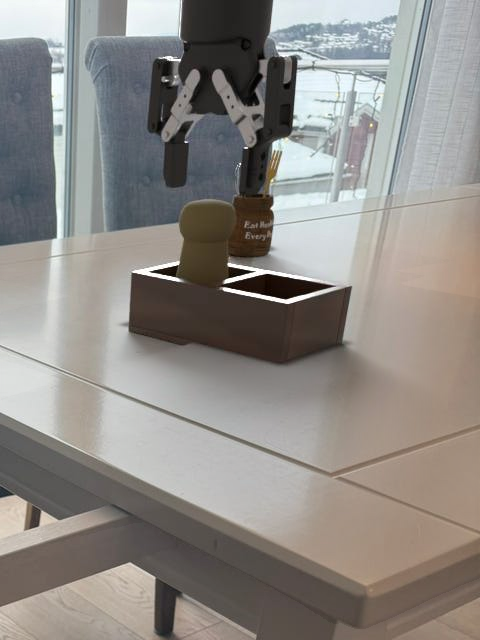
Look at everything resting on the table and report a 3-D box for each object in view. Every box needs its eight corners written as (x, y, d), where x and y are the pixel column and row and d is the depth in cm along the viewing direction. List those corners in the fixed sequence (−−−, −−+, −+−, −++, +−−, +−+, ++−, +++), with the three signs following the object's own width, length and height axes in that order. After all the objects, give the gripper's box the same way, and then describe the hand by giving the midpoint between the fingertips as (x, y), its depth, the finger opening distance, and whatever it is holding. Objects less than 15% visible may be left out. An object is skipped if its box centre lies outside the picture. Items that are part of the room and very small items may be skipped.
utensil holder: (214, 252, 125) (224, 151, 119) (251, 247, 127) (262, 148, 121) (244, 259, 121) (256, 155, 114) (281, 254, 123) (295, 152, 117)
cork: (154, 323, 92) (162, 201, 86) (192, 312, 95) (202, 193, 89) (203, 334, 88) (215, 207, 82) (241, 322, 91) (256, 199, 85)
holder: (190, 314, 98) (195, 257, 95) (341, 349, 86) (352, 285, 83) (128, 330, 93) (131, 271, 90) (278, 370, 81) (288, 303, 78)
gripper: (331, -33, 74) (301, 192, 82) (192, -21, 83) (178, 180, 92) (273, -34, 70) (248, 202, 78) (134, -22, 79) (125, 188, 88)
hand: (210, 190), depth 85 cm, fingers open, 8 cm apart
